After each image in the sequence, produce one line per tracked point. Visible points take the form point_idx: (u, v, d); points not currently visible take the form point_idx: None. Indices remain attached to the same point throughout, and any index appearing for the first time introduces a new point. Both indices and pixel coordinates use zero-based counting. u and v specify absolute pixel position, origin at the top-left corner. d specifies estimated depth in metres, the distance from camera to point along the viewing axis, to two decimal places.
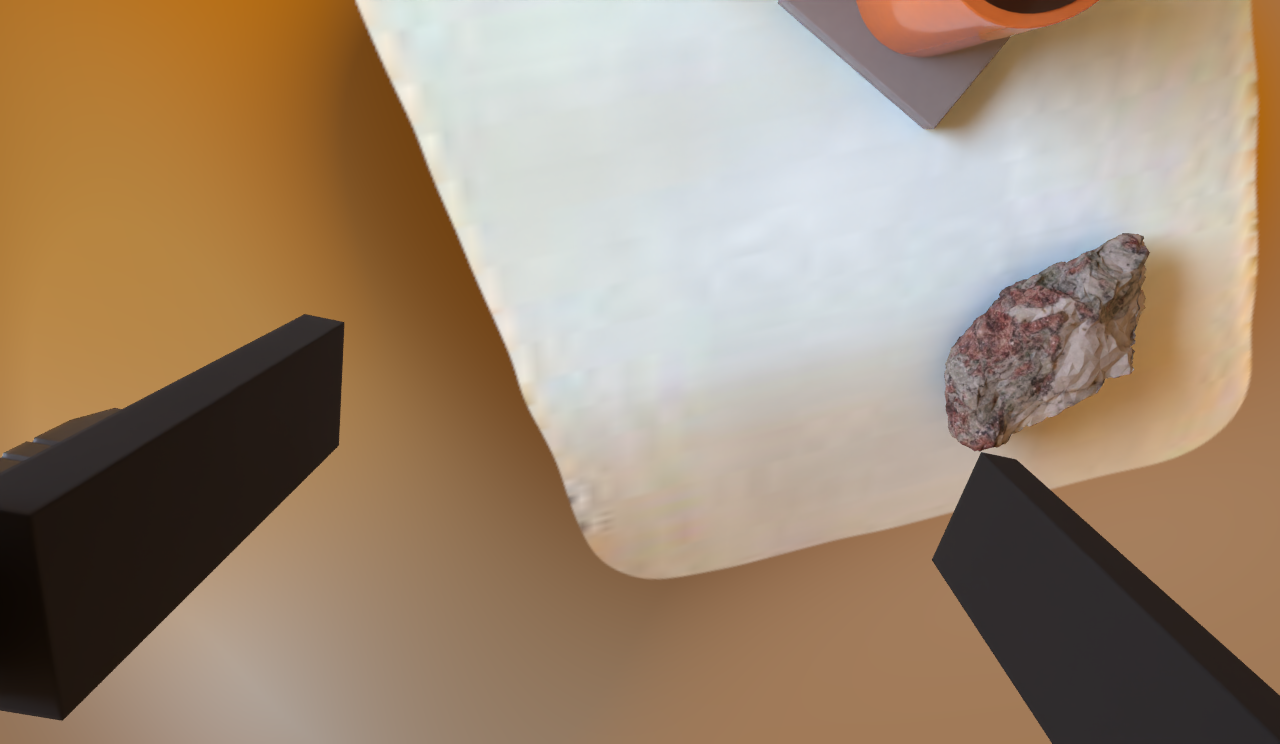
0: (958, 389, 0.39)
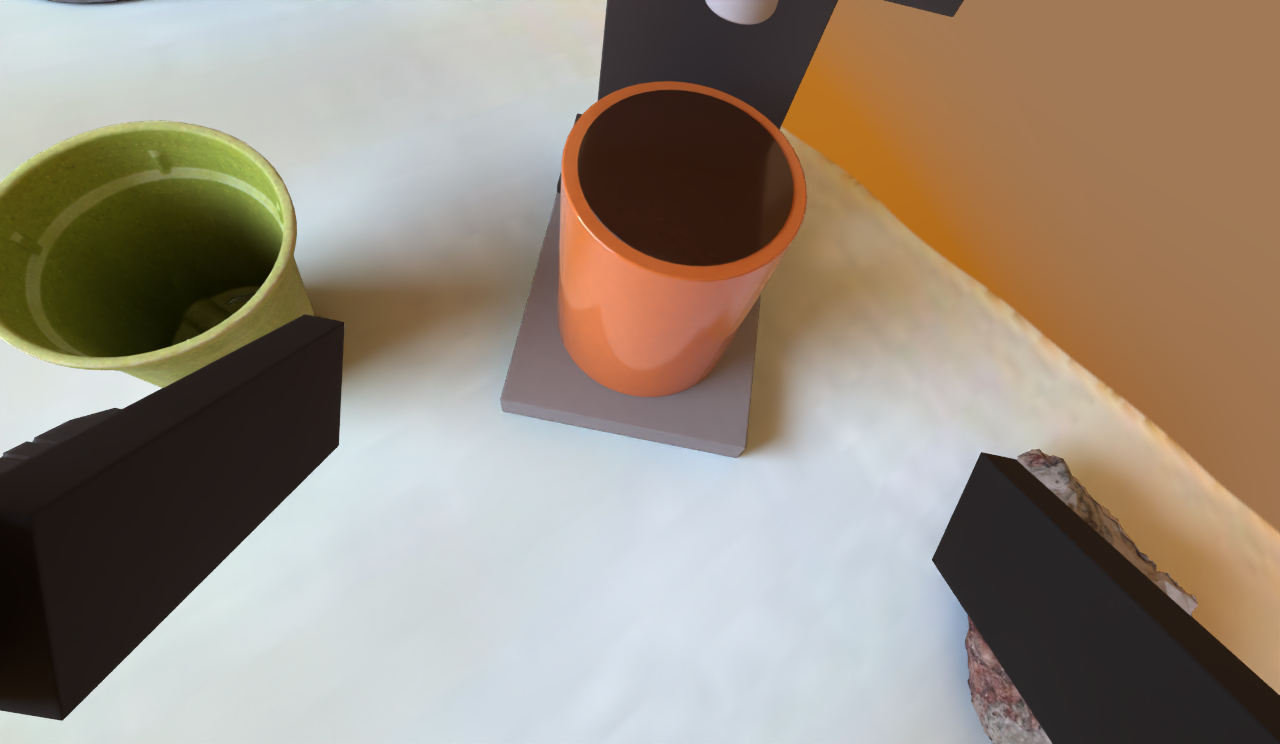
0: None
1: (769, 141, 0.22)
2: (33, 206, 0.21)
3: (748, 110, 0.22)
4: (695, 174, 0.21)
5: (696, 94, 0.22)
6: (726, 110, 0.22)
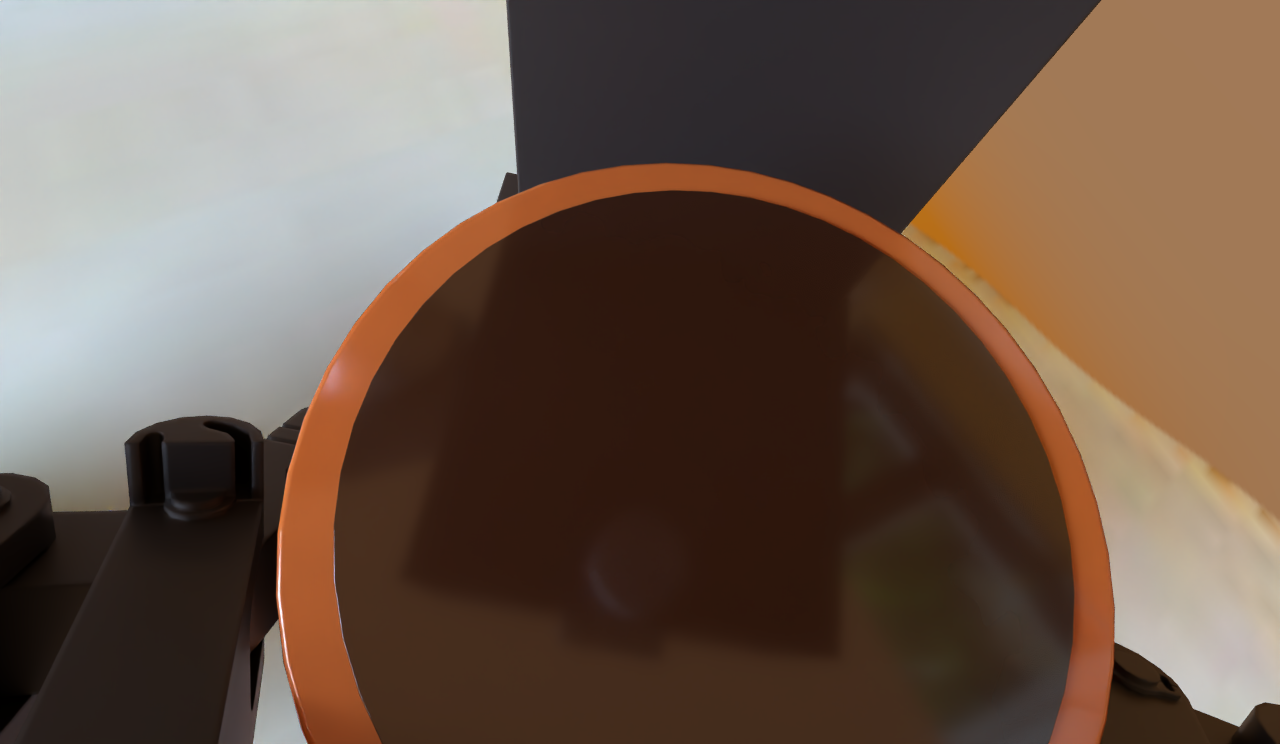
0: None
1: (963, 347, 0.07)
2: None
3: (894, 248, 0.08)
4: (752, 490, 0.06)
5: (744, 203, 0.08)
6: (832, 253, 0.07)
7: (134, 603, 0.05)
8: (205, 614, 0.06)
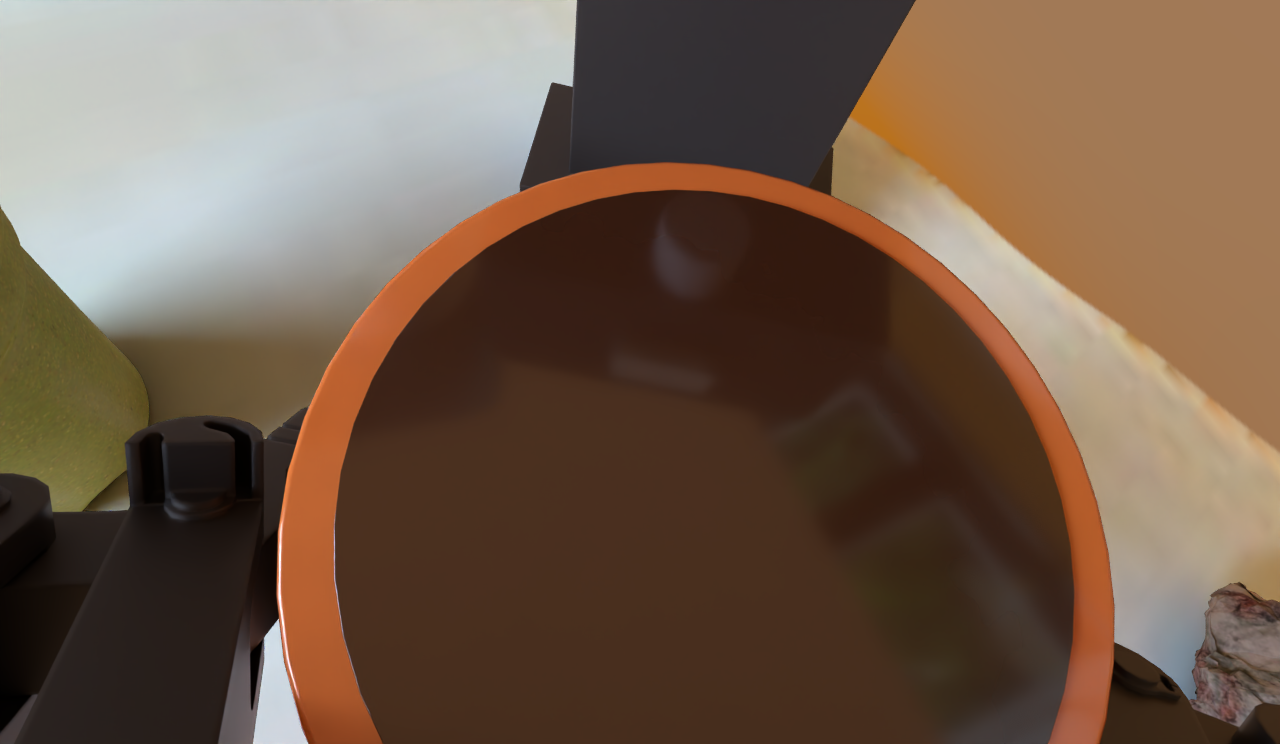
0: None
1: (963, 347, 0.07)
2: None
3: (894, 247, 0.08)
4: (752, 489, 0.06)
5: (744, 202, 0.08)
6: (833, 251, 0.07)
7: (135, 602, 0.05)
8: (205, 614, 0.06)
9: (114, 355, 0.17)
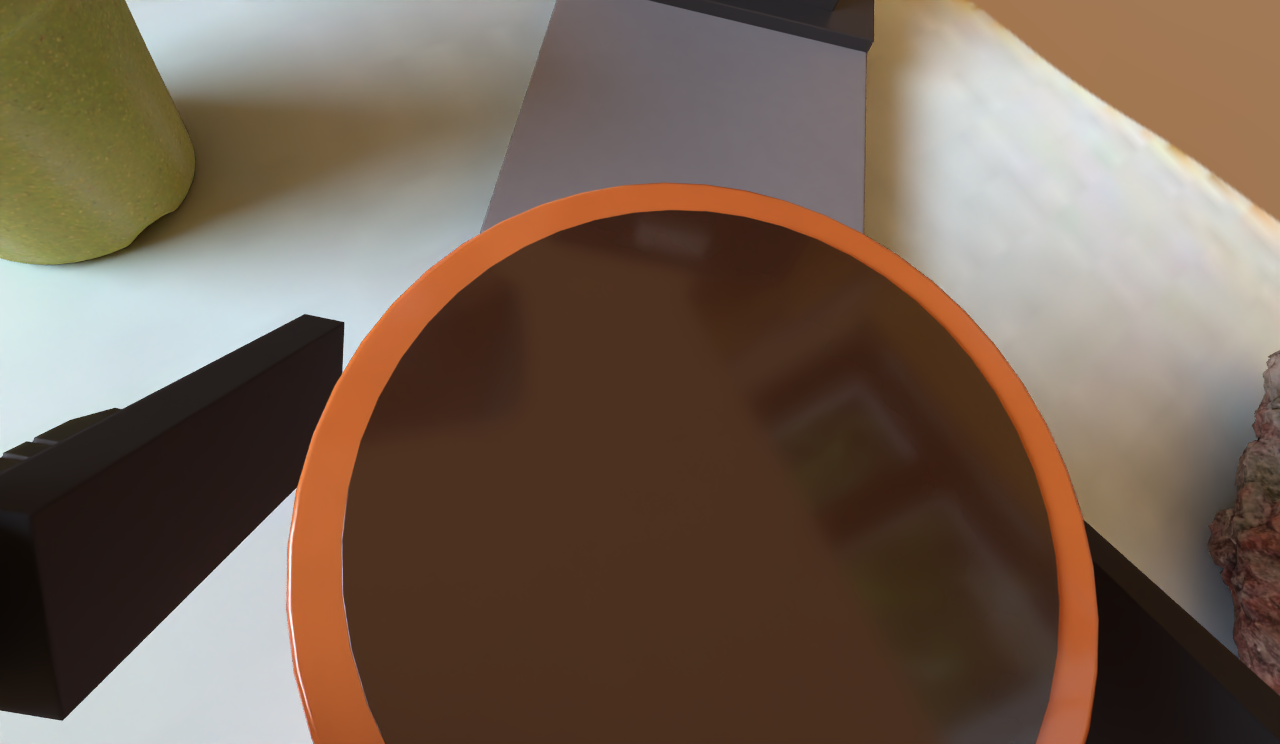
0: None
1: (953, 364, 0.07)
2: None
3: (886, 266, 0.08)
4: (747, 504, 0.06)
5: (740, 222, 0.08)
6: (827, 270, 0.08)
7: None
8: None
9: (163, 83, 0.17)
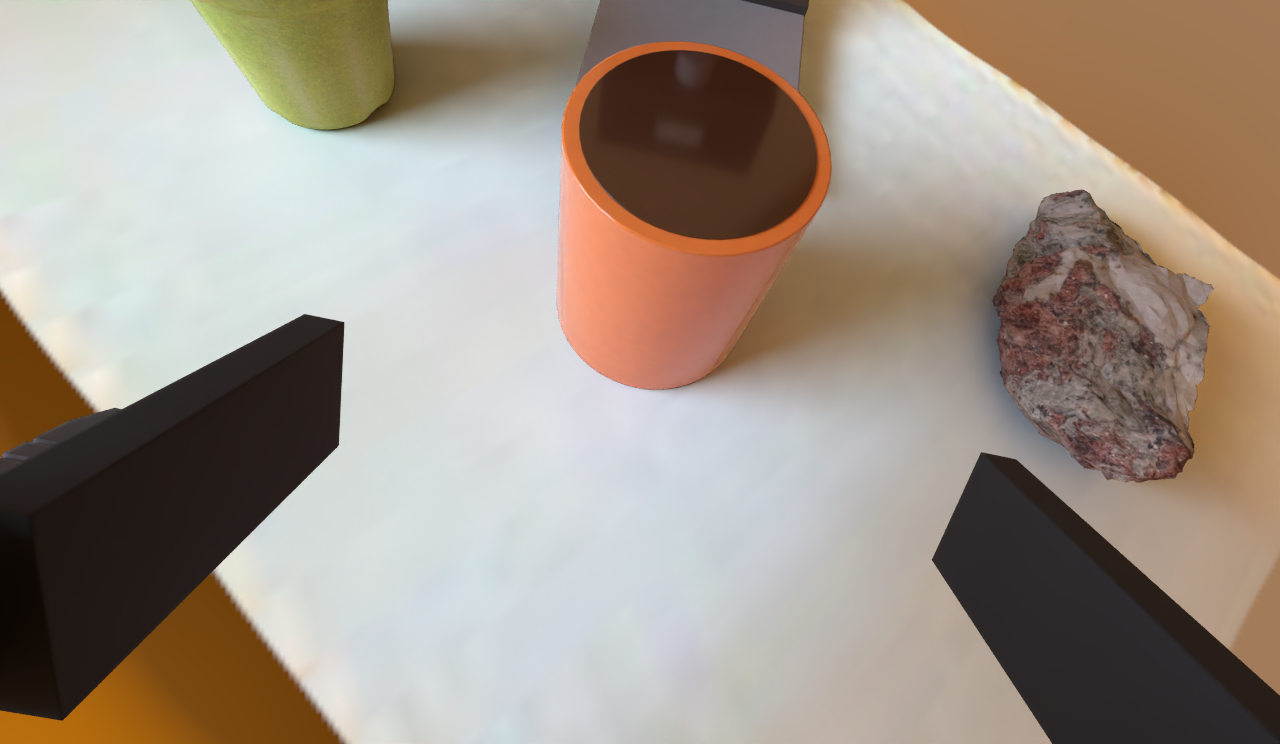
0: (1068, 410, 0.25)
1: (789, 106, 0.20)
2: None
3: (766, 73, 0.20)
4: (709, 140, 0.19)
5: (709, 55, 0.20)
6: (742, 73, 0.20)
7: None
8: None
9: None
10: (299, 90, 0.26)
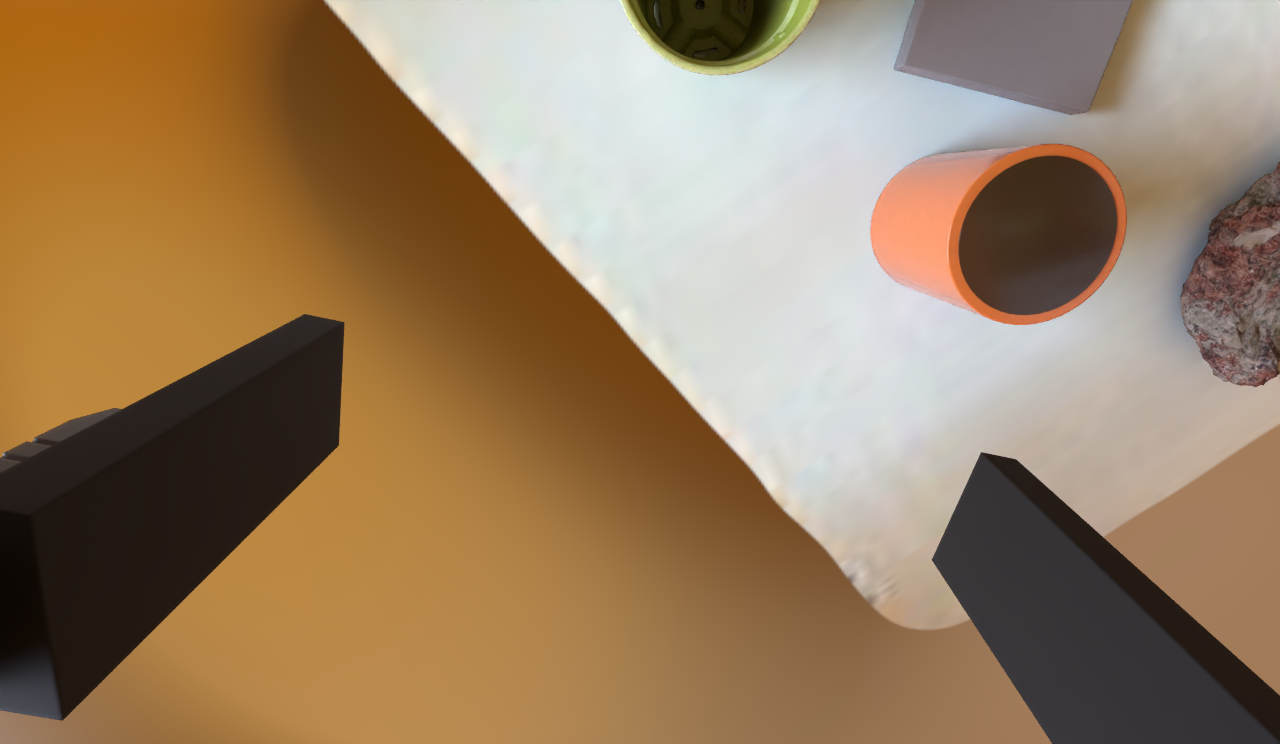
0: (1212, 335, 0.37)
1: (1109, 202, 0.29)
2: None
3: (1103, 172, 0.28)
4: (1042, 238, 0.29)
5: (1065, 158, 0.28)
6: (1085, 175, 0.28)
7: None
8: None
9: None
10: None
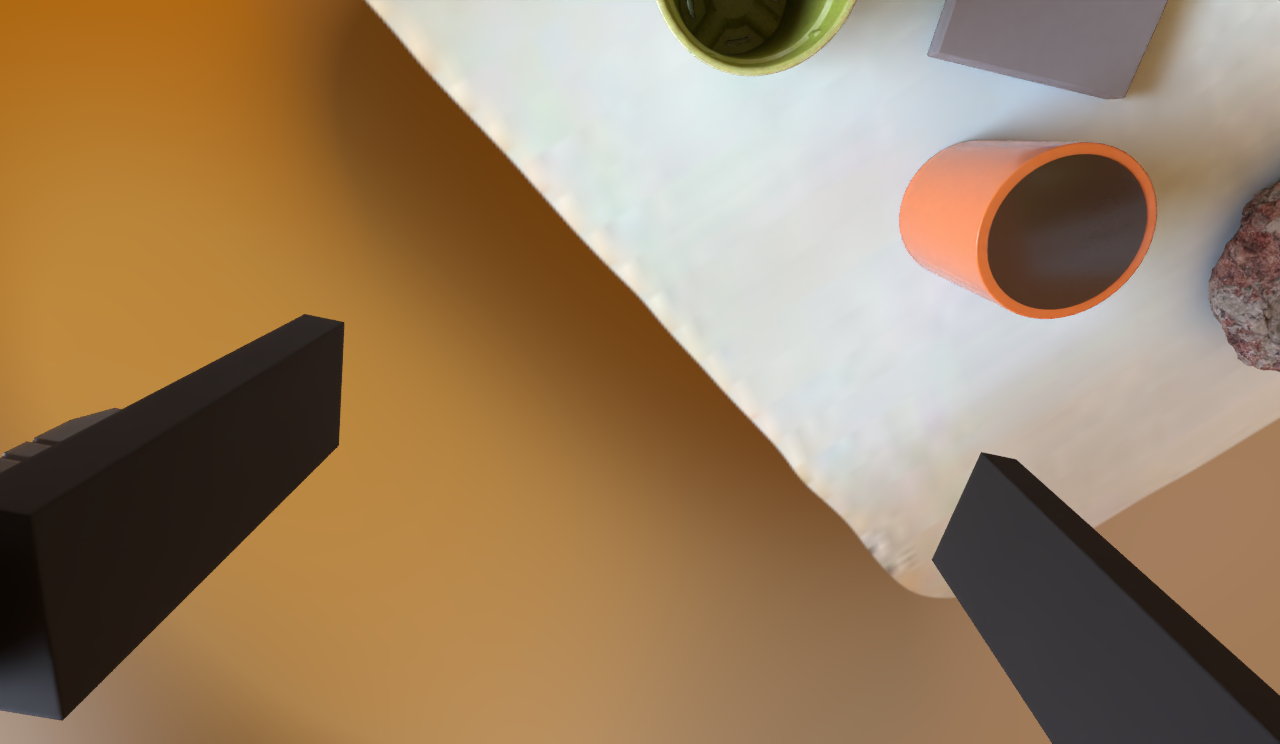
0: (1239, 321, 0.38)
1: (1139, 200, 0.29)
2: None
3: (1135, 170, 0.28)
4: (1071, 235, 0.30)
5: (1098, 157, 0.28)
6: (1117, 173, 0.28)
7: None
8: None
9: None
10: None
